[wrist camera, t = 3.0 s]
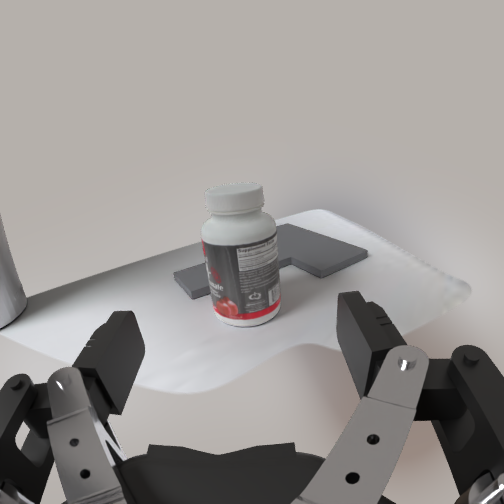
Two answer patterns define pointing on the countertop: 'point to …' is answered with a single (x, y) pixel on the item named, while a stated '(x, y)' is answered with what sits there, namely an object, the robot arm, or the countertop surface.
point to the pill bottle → (241, 255)
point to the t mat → (287, 257)
